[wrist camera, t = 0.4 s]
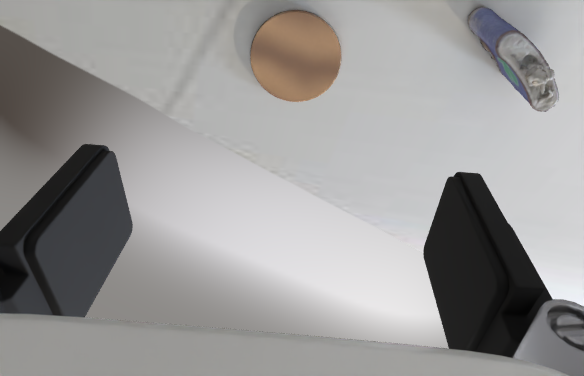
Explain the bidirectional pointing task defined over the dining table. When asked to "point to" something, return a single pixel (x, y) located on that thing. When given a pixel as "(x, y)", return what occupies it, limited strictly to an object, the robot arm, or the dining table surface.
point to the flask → (516, 58)
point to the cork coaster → (295, 56)
